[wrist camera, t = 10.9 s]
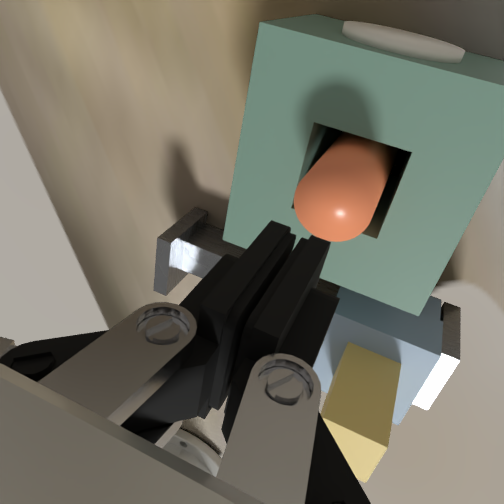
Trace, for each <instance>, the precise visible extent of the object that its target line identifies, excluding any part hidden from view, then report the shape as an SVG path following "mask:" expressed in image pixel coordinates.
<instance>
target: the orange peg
mask: <svg viewBox="0 0 504 504" xmlns="http://www.w3.org/2000/svg"><path fill="white" fill-rule="evenodd" d="M397 154H398V148H397V147H393V146H390V145H387V144H384V143H380V142H377V141H374V140H371V139H367V138H364V137H361V136H358V135H354V134H351V133H348V132H345V131H343V132H342V133H341V135H340V136H339V137H338V138H337V139H336V140H335V141H334V143H333V144H332V145H331V146H330V147H329V148H328V150H327V151H326V152H325V153H324V154H323V155H322V157H321V158H320V159H319V160H318V161H317V162H316V163H315V165H314V166H313V167H312V168H311V169H310V170H309V172H308V173H307V174H306V175H305V176H304V177H303V178H302V180H301V181H300V182H299V184H298V186H297V188H296V191H295V195H294V208H295V212H296V215H297V217H298V219H299V221H300V222H301V224H302V225H303V226H304V228H305V229H306V230H308V231H309V232H310V233H311V234H313V235H314V236H316V237H319V238H321V239H324V240H327V241H333V242H341V241H347V240H350V239H353V238H355V237H357V236H358V235H360V234H361V233H362V232H363V231H364V230H365V229H366V228H367V227H368V225H369V224H370V221H371V219H372V217H373V214H374V212H375V209H376V207H377V204H378V202H379V199H380V197H381V195H382V192H383V190H384V187H385V185H386V182H387V180H388V177H389V175H390V172H391V170H392V167H393V165H394V162H395V160H396V157H397Z"/></svg>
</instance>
